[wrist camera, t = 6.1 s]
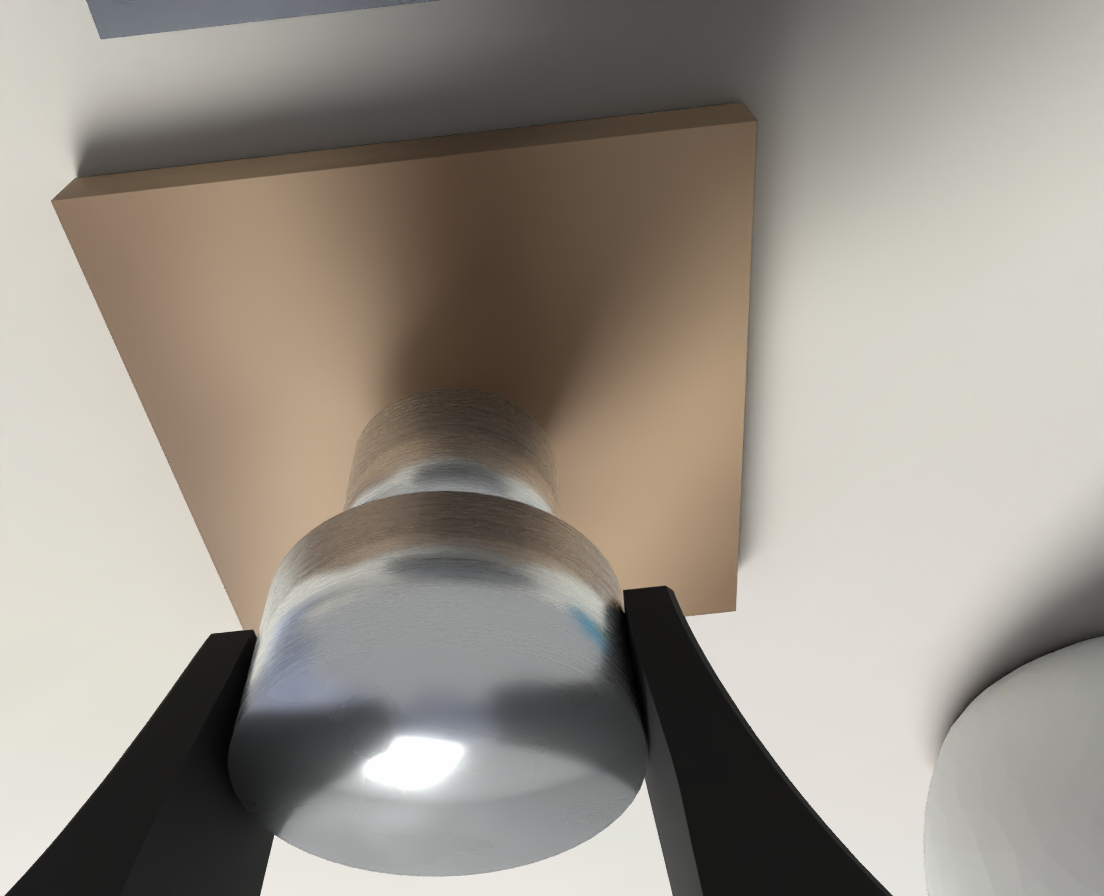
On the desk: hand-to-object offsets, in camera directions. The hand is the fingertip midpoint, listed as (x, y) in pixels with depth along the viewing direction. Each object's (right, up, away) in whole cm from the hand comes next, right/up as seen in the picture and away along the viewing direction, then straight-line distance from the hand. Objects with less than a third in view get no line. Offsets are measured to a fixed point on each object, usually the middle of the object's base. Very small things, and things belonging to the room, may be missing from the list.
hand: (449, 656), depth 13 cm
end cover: (0, +3, +3) cm, 4 cm away
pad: (0, +4, +5) cm, 6 cm away
